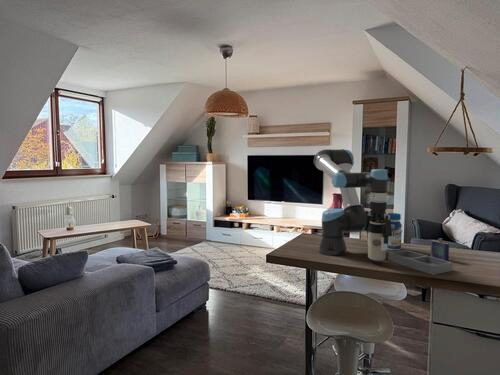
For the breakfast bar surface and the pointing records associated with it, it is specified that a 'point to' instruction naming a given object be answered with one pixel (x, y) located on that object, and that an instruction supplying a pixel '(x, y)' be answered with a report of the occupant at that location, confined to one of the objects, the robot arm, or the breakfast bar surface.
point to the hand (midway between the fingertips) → (377, 247)
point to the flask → (440, 249)
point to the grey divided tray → (420, 262)
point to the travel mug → (375, 242)
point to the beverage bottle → (395, 232)
